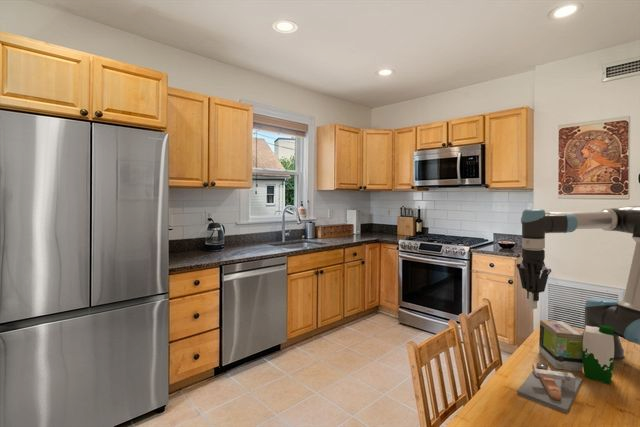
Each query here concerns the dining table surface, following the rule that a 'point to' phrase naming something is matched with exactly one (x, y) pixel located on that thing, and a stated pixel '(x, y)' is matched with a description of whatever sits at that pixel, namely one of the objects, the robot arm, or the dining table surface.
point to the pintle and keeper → (557, 377)
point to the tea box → (561, 345)
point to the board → (539, 393)
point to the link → (550, 385)
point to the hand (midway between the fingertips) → (532, 308)
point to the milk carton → (598, 353)
